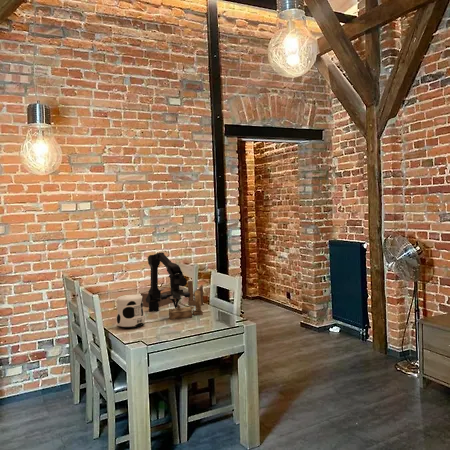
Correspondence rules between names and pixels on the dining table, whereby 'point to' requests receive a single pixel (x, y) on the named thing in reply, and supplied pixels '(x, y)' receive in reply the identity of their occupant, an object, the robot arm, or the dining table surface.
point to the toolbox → (184, 314)
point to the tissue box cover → (162, 301)
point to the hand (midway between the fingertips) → (175, 308)
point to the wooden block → (190, 290)
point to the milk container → (130, 311)
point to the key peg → (198, 300)
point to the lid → (180, 309)
